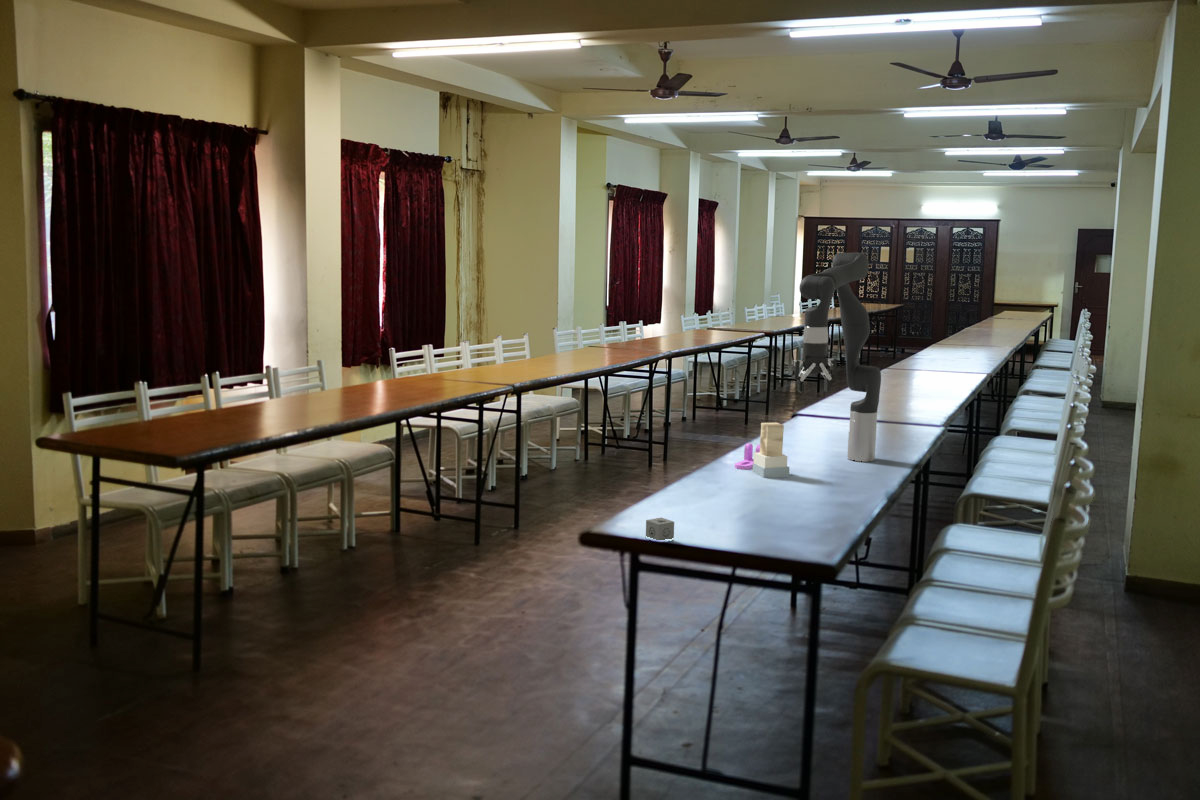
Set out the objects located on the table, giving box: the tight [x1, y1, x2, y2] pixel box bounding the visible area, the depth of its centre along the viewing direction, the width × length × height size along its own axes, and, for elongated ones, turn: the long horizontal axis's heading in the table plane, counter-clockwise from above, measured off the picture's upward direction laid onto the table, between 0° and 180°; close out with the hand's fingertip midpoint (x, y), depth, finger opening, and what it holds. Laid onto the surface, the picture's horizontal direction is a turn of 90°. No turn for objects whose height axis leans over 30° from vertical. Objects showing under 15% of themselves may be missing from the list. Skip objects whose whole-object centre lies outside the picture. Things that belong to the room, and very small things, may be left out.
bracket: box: [734, 443, 760, 470], centre depth 355 cm, size 13×6×7 cm, turn 147°
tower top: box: [753, 452, 788, 468], centre depth 343 cm, size 8×8×4 cm
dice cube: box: [645, 517, 675, 540], centre depth 263 cm, size 5×5×5 cm
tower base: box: [752, 463, 790, 479], centre depth 343 cm, size 9×9×4 cm
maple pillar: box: [759, 422, 785, 456], centre depth 342 cm, size 6×6×10 cm
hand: (813, 392), depth 329 cm, fingers open, 8 cm apart
